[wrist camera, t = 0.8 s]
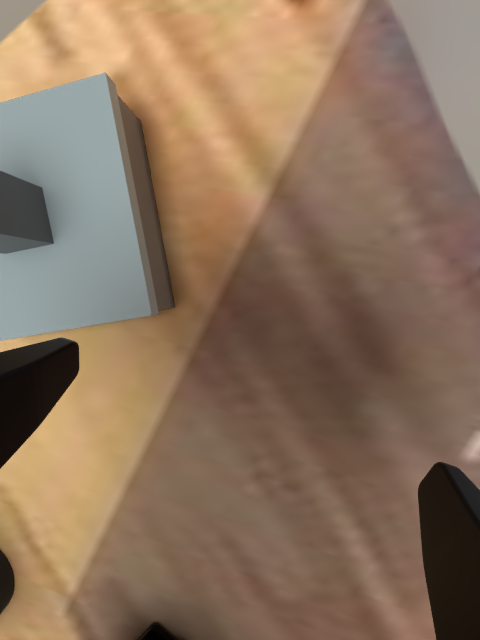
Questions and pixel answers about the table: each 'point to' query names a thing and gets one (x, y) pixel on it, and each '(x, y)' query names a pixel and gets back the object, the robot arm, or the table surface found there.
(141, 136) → the storage box
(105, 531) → the table surface
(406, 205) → the table surface
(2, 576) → the travel mug
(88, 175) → the slate lid
